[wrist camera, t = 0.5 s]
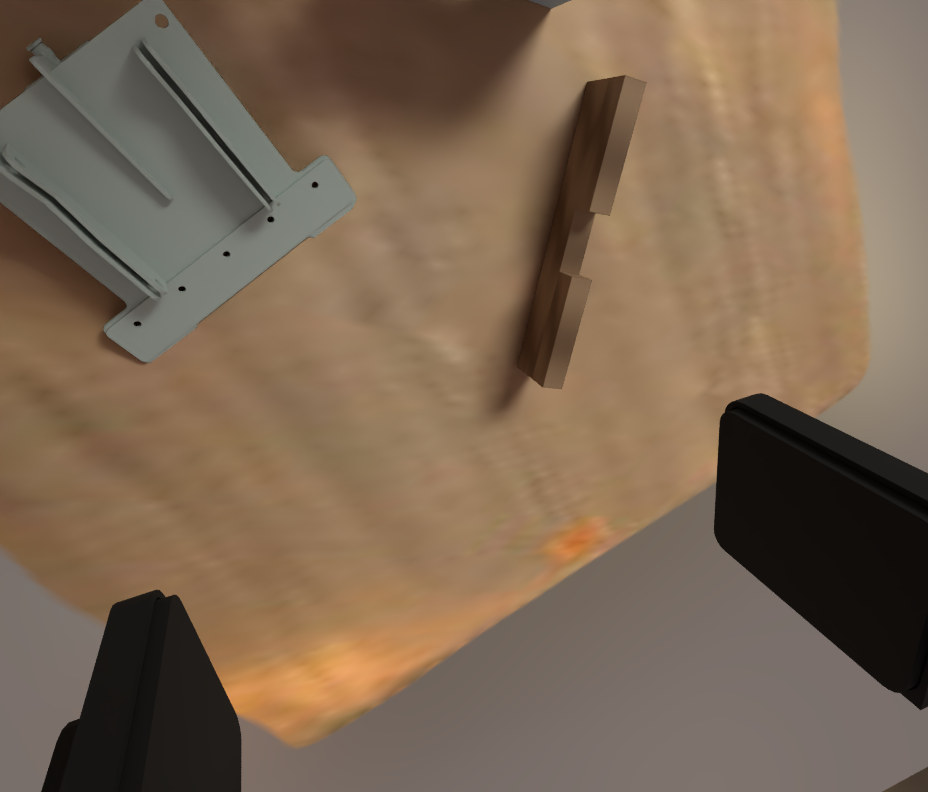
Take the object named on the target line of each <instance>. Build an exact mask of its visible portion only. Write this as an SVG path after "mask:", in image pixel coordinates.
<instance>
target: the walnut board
mask: <svg viewBox="0 0 928 792" xmlns="http://www.w3.org/2000/svg"><path fill="white" fill-rule="evenodd" d="M645 86H646V82H644V81H641V80H638V79H635V78H632V77H629V76H626V75H624V76H618V77H612V78H607V79H601V80H595V81H590V82H587V86H586V90H585V94H584V98H583V102H582V106H581V110H580V114H579V118H578V122H577V127H576V131H575V135H574V139H573V143H572V147H571V151H570V155H569V159H568V163H567V167H566V171H565V175H564V179H563V183H562V187H561V192H560V196H559V200H558V204H557V208H556V212H555V216H554V220H553V224H552V228H551V232H550V236H549V240H548V244H547V248H546V252H545V257H544V261H543V265H542V269H541V273H540V277H539V281H538V285H537V289H536V293H535V297H534V301H533V305H532V309H531V313H530V317H529V322H528V326H527V330H526V334H525V338H524V342H523V346H522V350H521V354H520V358H519V362H518V366H517V367H518V368H520V369H521V370H522V371H523V372H525V373H526V374H527V375H528V376H529V377H531V378H532V379H533V380H534V381H536V382H537V383H538V384H539V385H540V386H542V387H543V388H554V389H562V387H563V383H564V380H565V376H566V372H567V369H568V365H569V362H570V358H571V354H572V351H573V347H574V343H575V340H576V336H577V333H578V329H579V325H580V322H581V318H582V314H583V311H584V307H585V304H586V300H587V296H588V293H589V289H590V285H591V282H592V280H590V279H588V278H585V277H583V276H580V275H579V273H580V269H581V265H582V261H583V258H584V254H585V250H586V246H587V243H588V239H589V235H590V231H591V228H592V224H593V220H594V216H595V213H598V214H603V215H608V216H610V213H611V209H612V206H613V202H614V198H615V195H616V191H617V188H618V184H619V180H620V177H621V173H622V169H623V166H624V162H625V159H626V155H627V151H628V148H629V144H630V140H631V137H632V133H633V130H634V126H635V122H636V119H637V115H638V111H639V108H640V104H641V101H642V97H643V93H644V90H645Z"/></svg>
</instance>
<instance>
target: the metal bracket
mask: <svg viewBox="0 0 928 792" xmlns="http://www.w3.org/2000/svg"><path fill="white" fill-rule="evenodd" d="M158 14H162V15H164V16H166V17H167V19H168V26H167V27H166V28H159V27H158V26H157V25H156V23H155V17H156V15H158ZM41 41H42V39H41V38H40V37H39V38H38V39H36V40H35V41H34V42H32V43H31V44H30V45H29V46H28V47H26V49H27V50H28V51H30V50H31V49H32V50H31V52H32V53H33V54H34V56H33V57H31V58H30V59H29V61H30V62H31V63H32V64H33V66H34V67H35V68H36V69H37V70H38V71H39V72H40V73H41V74H42V75H41V77H40V78H38V79H37V80H36V81H33V82H32V83H31V84H30V85H28V86H27V87H26V88H25V89H24V92H23V93H21V94H20V95H19V96H17V97H16V98H15V99H13V100H12V101H11V102H10V103H8V104H7V105H6V106H4V107H3V108H2V109H0V203H2V204H3V205H4V206H5V207H7V208H8V209H9V210H10V211H12V212H13V213H14V214H15V215H17V216H18V217H19V218H20V219H22V220H23V221H24V222H25V223H27V224H28V225H29V226H30V227H32V228H33V229H34V230H35V231H37V232H38V233H39V234H40V235H42V236H43V237H44V238H45V239H47V240H48V241H49V242H51V243H52V244H53V245H54V246H56V247H57V248H58V249H59V250H61V251H62V252H63V253H64V254H66V255H67V256H68V257H69V258H71V259H72V260H73V261H74V262H76V263H77V264H78V265H79V266H81V267H82V268H83V269H84V270H86V271H87V272H88V273H89V274H91V275H92V276H93V277H94V278H96V279H97V280H98V281H100V282H101V283H102V284H103V285H105V286H106V287H107V288H108V289H110V290H111V291H112V292H113V293H115V294H116V295H117V296H118V297H120V298H121V299H122V300H123V301H125V303H126V304H127V306H126V308H125V309H124V310H122V311H121V312H120V313H119V314H117V315H116V316H115V317H114V318H112V319H111V320H110V321H108V322H107V323H106V324H105V325H104V332H105V333H106V335H107V336H108V337H109V338H110V339H112V340H113V341H115V342H116V343H117V344H119V345H120V346H121V347H123V348H124V349H126V350H127V351H128V352H130V353H131V354H132V355H134V356H135V357H137V358H138V359H139V360H141V361H143V362H148V363H150V362H152V361H154V360H155V359H156V358H157V357H159V356H160V355H161V354H163V353H164V352H165V351H167V350H168V349H169V348H171V347H172V346H173V345H174V344H176V343H177V342H178V341H180V340H181V339H182V338H184V337H185V336H186V335H188V334H189V333H190V332H192V331H193V330H194V329H195V328H197V324H198V323H199V322H200V321H202V320H203V319H204V318H205V317H207V316H208V315H209V314H211V313H212V312H213V311H214V310H216V309H217V308H218V307H219V306H221V305H222V304H223V303H225V302H226V301H227V300H228V299H230V298H231V297H232V296H233V295H235V294H236V293H237V292H239V291H240V290H241V289H242V288H244V287H245V286H246V285H247V284H249V283H250V282H251V281H253V280H254V279H255V278H256V277H258V276H259V275H260V274H261V273H263V272H264V271H265V270H267V269H268V268H269V267H270V266H272V265H273V264H274V263H275V262H277V261H278V260H279V259H281V258H282V257H283V256H284V255H286V254H287V253H288V252H290V251H291V250H292V249H293V248H295V247H296V246H297V245H298V244H300V243H301V242H302V241H304V240H305V239H306V238H308V237H313V238H315V237H316V236H317V235H319V234H320V233H321V232H322V231H324V230H325V229H326V228H328V227H329V226H330V225H332V224H333V223H334V222H336V221H337V220H338V219H340V218H341V217H342V216H343V215H345V214H346V213H347V212H349V211H350V210H351V209H352V208H353V206H354V204H355V202H356V195H355V193H354V192H353V190H352V189H351V187H350V186H349V184H348V183H347V182H346V180H345V179H344V177H343V176H342V174H341V173H340V171H339V170H338V169H337V167H336V166H335V164H334V163H333V161H331V159H330V158H329V157H328V156H327V155H321V156H319V157H318V158H317V159H316V160H314V161H313V162H312V163H310V164H309V165H308V166H307V167H305V168H304V169H303V170H302V171H299V172H294V171H293V170H292V169H291V168H290V167H289V165H288V164H287V163H286V161H285V160H284V159H283V157H282V156H281V155H280V154H279V152H278V151H277V150H276V148H275V147H274V146H273V144H272V143H271V142H270V140H269V139H268V138H267V137H266V135H265V134H264V133H263V131H262V130H261V129H260V127H259V126H258V125H257V123H256V122H255V121H254V119H253V118H252V117H251V116H250V114H249V113H248V112H247V110H246V109H245V108H244V106H243V105H242V104H241V102H240V101H239V100H238V99H237V97H236V96H235V95H234V93H233V92H232V91H231V89H230V88H229V87H228V85H227V84H226V83H225V81H224V80H223V79H222V78H221V76H220V75H219V74H218V72H217V71H216V70H215V68H214V67H213V66H212V64H211V63H210V62H209V61H208V59H207V58H206V57H205V55H204V54H203V53H202V51H201V50H200V49H199V47H198V46H197V45H196V43H195V42H194V41H193V40H192V38H191V37H190V36H189V34H188V33H187V32H186V30H185V29H184V28H183V26H182V25H181V24H180V23H179V21H178V20H177V19H176V17H175V16H174V15H173V13H172V12H171V11H170V9H169V8H168V7H167V5H166V4H165V3H164V2H163V0H142V1H141V2H140V3H138V4H137V5H136V6H134V7H133V8H132V9H130V10H129V11H128V12H127V13H125V14H124V15H123V16H121V17H120V18H119V19H117V20H116V21H115V22H114V23H112V24H111V25H110V26H108V27H107V28H106V29H104V30H103V31H102V32H101V33H99V34H98V35H97V36H95V37H94V38H93V39H91V40H90V41H88V40H87V41H85V42H84V43H83V44H81V45H80V46H79V47H78V48H77V49H76V50H75V51H73V52H71V53H70V54H69V55H67V56H66V57H65V58H63V59H62V60H61V61H60V60H59V59H58V58H57V57H56V56H55V53H54V52H53V51H52V50H51V49H50V48H49V47H48V46H46V45H45V44H44V43H43V42H41ZM40 42H41V43H40ZM313 182H317V183H318V185H317V187H316V188H313V187H312V183H313ZM270 216H272V217H274V220H273V222H268V221H267V218H268V217H270ZM225 251H228V252H230V255H229V256H227V257H225V256H223V253H224V252H225ZM180 286H184V287H185V288H186V289H185V290H184V291H179V290H178V288H179V287H180ZM136 321H139V322H141V325H139V326H135V325H134V324H133V323H134V322H136Z"/></svg>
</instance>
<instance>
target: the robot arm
mask: <svg viewBox="0 0 928 792" xmlns="http://www.w3.org/2000/svg"><path fill="white" fill-rule="evenodd" d="M714 534H715V537H716V539H717V541H718V543H719V545H720V546H721V547H722V548H723V549H724V550H725V551H726V552H727V553H728V554H729V555H731V556H732V557H733V558H734V559H735V560H736V561H737V562H739V563H740V564H741V565H742V566H743V567H745V568H746V569H747V570H748V571H749V572H750V573H752V574H753V575H754V576H755V577H756V578H757V579H759V580H760V581H761V582H762V583H763V584H765V585H766V586H767V587H768V588H769V589H770V590H772V591H773V592H774V593H775V594H776V595H777V596H779V597H780V598H781V599H782V600H783V601H784V602H786V603H787V604H788V605H789V606H790V607H792V608H793V609H794V610H795V611H796V612H797V613H798V614H800V615H801V616H802V617H803V618H804V619H805V620H807V621H808V622H809V623H810V624H811V625H813V626H814V627H815V628H816V629H817V630H818V631H819V632H821V633H822V634H823V635H824V636H825V637H826V638H828V639H829V640H830V641H831V642H832V643H834V644H835V645H836V646H837V647H838V648H839V649H841V650H842V651H843V652H844V653H845V654H846V655H848V656H849V657H850V658H851V659H852V660H854V661H855V662H856V663H857V664H858V665H859V666H861V667H862V668H863V669H864V670H865V671H866V672H868V673H869V674H870V675H871V676H872V677H873V678H874V679H876V680H877V681H878V682H879V683H880V684H882V685H883V686H884V687H886V688H887V689H888V690H891V691H893V692H897V693H901V694H902V695H903V696H904V697H906V698H907V699H908V700H909V701H910V702H912V703H913V704H914V705H915V706H916V707H917V708H919V709H920V710H922V709H924V708H926V707H928V473H926V472H924V471H922V470H920V469H918V468H916V467H913V466H912V465H909V464H908V463H905V462H903V461H901V460H899V459H897V458H895V457H893V456H891V455H889V454H887V453H885V452H883V451H881V450H879V449H876V448H875V447H873V446H871V445H868V444H866V443H864V442H862V441H860V440H858V439H856V438H854V437H852V436H850V435H848V434H846V433H844V432H842V431H840V430H838V429H836V428H834V427H831V426H829V425H827V424H825V423H823V422H821V421H819V420H817V419H815V418H813V417H811V416H809V415H807V414H805V413H803V412H801V411H799V410H797V409H795V408H793V407H791V406H789V405H787V404H784V403H782V402H780V401H778V400H776V399H774V398H772V397H770V396H768V395H765V394H762V393H760V394H754V395H751V396H748V397H745V398H742V399H739V400H736V401H733V402H731V403H729V404H728V405H727V407H726V409H725V413H724V414H722V416H721V418H720V428H719V446H718V465H717V483H716V502H715V519H714ZM41 792H241V732H240V726H239V722H238V718H237V715H236V713H235V711H234V709H233V707H232V704H231V702H230V700H229V698H228V696H227V694H226V692H225V690H224V688H223V686H222V684H221V682H220V680H219V678H218V676H217V674H216V672H215V670H214V667H213V665H212V663H211V661H210V659H209V657H208V655H207V653H206V651H205V649H204V647H203V645H202V643H201V641H200V639H199V637H198V635H197V633H196V630H195V628H194V626H193V624H192V622H191V620H190V618H189V616H188V614H187V612H186V610H185V608H184V606H183V604H182V602H181V600H180V598H179V597H178V596H177V595H172V596H169V597H166V598H165V596H164V594H163V593H162V592H161V591H160V590H154V591H151V592H148V593H145V594H142V595H139V596H136V597H133V598H130V599H127V600H124V601H121V602H117V603H115V604H114V605H113V606H112V608H111V610H110V614H109V617H108V621H107V624H106V628H105V631H104V635H103V638H102V642H101V645H100V649H99V652H98V656H97V659H96V663H95V667H94V670H93V673H92V677H91V680H90V684H89V688H88V691H87V695H86V698H85V702H84V705H83V709H82V712H81V716H80V719H77V720H75V721H72V722H69V723H68V724H67V725H66V726H65V727H64V728H63V730H62V731H61V734H60V736H59V738H58V740H57V743H56V746H55V749H54V752H53V755H52V759H51V762H50V765H49V768H48V771H47V775H46V778H45V782H44V785H43V788H42V791H41ZM883 792H928V767H927V768H925V769H923V770H921V771H920V772H918V773H916V774H914V775H912V776H910V777H909V778H907V779H905V780H903V781H901V782H899V783H897V784H896V785H894V786H892V787H890V788H888V789H886V790H885V791H883Z"/></svg>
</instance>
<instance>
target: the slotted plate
mask: <svg viewBox="0 0 928 792" xmlns="http://www.w3.org/2000/svg"><path fill="white" fill-rule="evenodd" d="M529 1H532V2H534V3H537V4H540V5H543V6H545V7H548V8H551V9H552V8H554V7H557V6H559V5H561V4H564V3H566V2H568V1H570V0H529Z"/></svg>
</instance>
